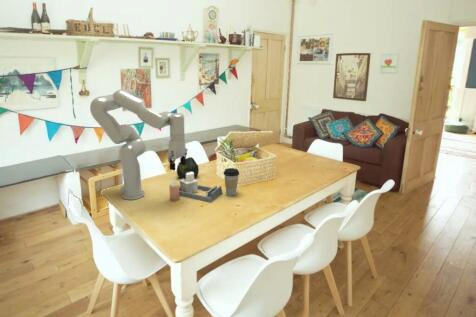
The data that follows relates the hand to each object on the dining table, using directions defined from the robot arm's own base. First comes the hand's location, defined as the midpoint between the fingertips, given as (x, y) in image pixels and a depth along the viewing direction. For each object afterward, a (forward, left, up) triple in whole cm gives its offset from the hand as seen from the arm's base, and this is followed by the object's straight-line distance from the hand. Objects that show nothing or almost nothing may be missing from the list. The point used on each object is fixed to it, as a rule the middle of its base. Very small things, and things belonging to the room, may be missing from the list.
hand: (177, 167), depth 176 cm
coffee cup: (+22, +22, -21) cm, 37 cm away
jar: (-4, +1, -20) cm, 21 cm away
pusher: (+14, +13, -20) cm, 28 cm away
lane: (+4, +13, -20) cm, 25 cm away
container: (-2, +13, -21) cm, 25 cm away
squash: (-16, +34, -21) cm, 43 cm away
